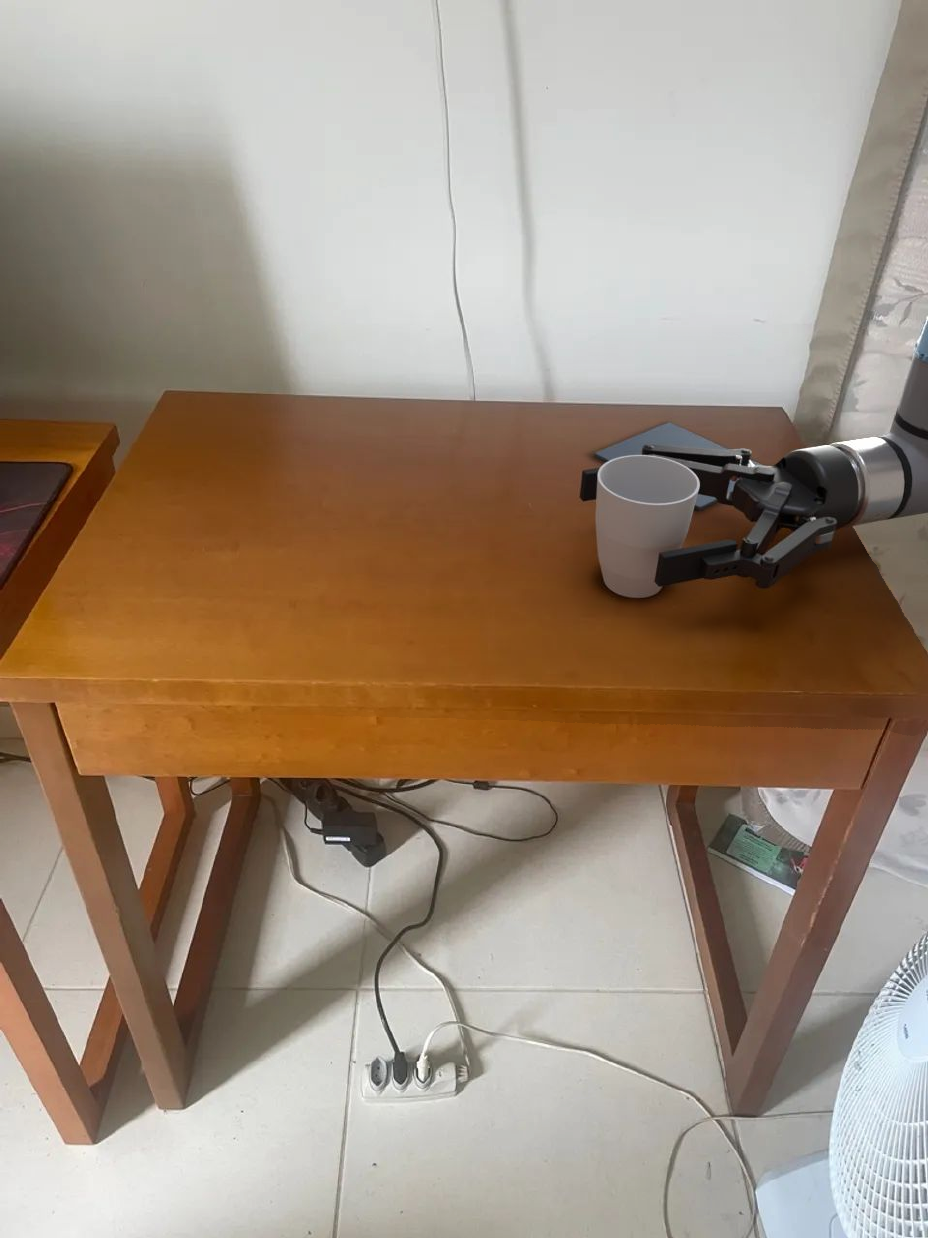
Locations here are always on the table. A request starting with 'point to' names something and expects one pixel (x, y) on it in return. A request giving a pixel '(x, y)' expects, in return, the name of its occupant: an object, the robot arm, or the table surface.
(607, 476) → the cup
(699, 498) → the mat
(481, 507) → the table surface
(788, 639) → the table surface
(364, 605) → the table surface
